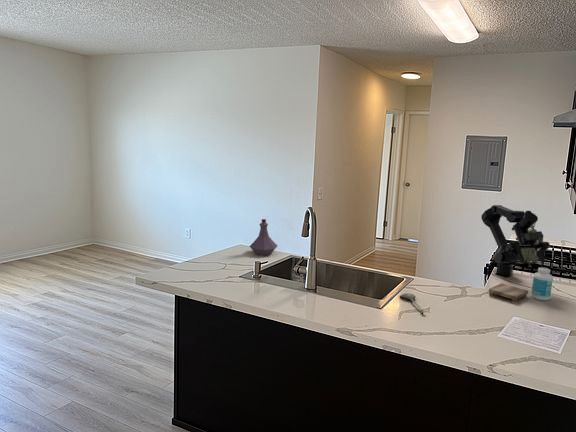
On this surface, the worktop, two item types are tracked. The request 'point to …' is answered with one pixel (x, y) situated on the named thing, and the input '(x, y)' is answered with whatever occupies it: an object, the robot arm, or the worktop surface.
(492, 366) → the worktop surface
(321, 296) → the worktop surface
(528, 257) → the tabletop clock
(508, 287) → the small wooden pallet
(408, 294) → the soupspoon
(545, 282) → the pill bottle
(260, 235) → the flask
